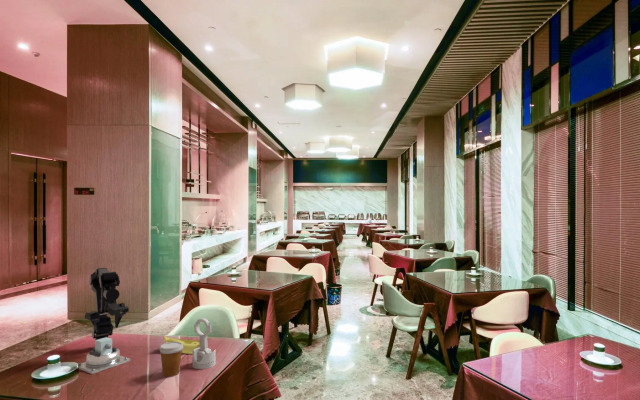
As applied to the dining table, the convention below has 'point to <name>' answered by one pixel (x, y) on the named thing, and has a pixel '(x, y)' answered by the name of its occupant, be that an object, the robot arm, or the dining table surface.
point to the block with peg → (103, 346)
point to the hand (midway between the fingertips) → (107, 330)
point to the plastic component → (185, 344)
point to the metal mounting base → (102, 361)
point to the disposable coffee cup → (171, 358)
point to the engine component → (203, 348)
